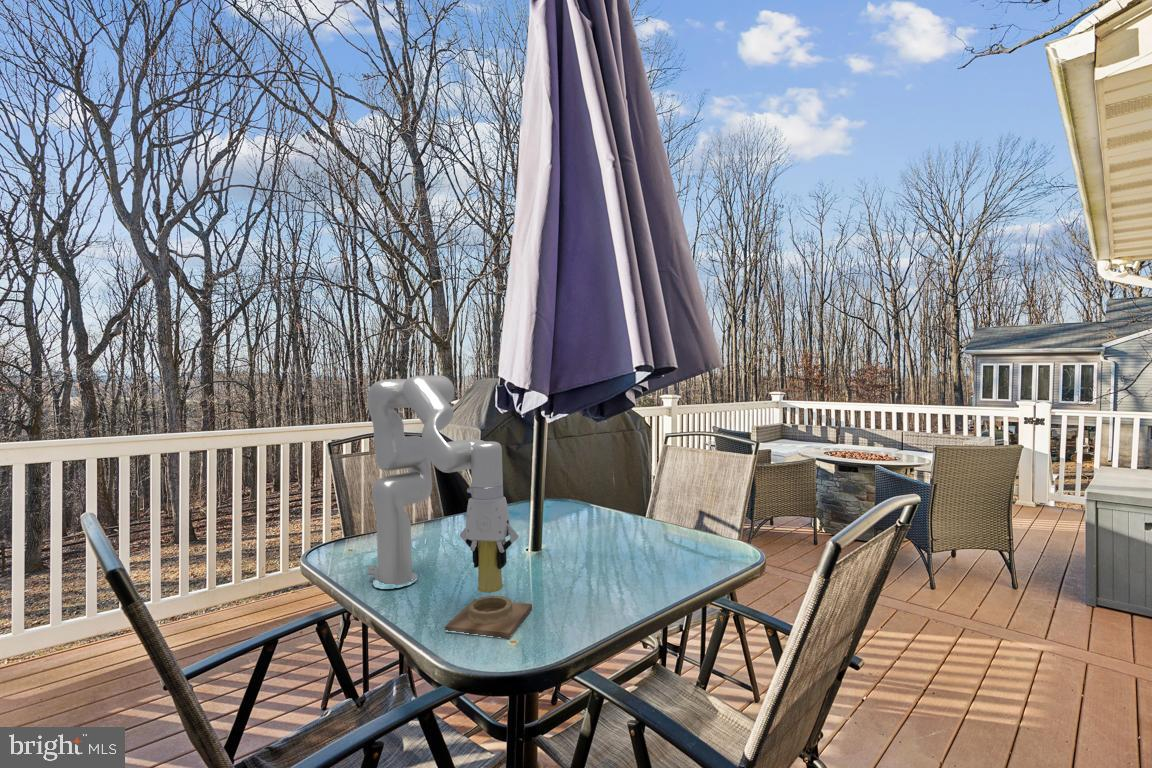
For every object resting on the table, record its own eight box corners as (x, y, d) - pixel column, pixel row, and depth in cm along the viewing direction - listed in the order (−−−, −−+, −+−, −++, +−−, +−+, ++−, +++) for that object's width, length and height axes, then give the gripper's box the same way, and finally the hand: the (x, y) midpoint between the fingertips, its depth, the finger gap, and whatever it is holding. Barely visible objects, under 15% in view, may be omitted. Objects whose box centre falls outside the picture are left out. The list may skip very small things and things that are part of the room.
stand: (445, 632, 125) (444, 615, 125) (474, 604, 141) (474, 589, 141) (509, 639, 121) (508, 621, 121) (532, 609, 137) (531, 594, 137)
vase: (472, 590, 130) (470, 531, 130) (489, 581, 135) (488, 525, 135) (491, 594, 126) (489, 534, 126) (508, 586, 132) (506, 528, 132)
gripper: (448, 495, 129) (450, 569, 129) (515, 496, 125) (517, 574, 125) (462, 488, 136) (464, 559, 136) (525, 490, 132) (528, 563, 132)
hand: (489, 565), depth 131 cm, fingers closed on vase, 5 cm apart
